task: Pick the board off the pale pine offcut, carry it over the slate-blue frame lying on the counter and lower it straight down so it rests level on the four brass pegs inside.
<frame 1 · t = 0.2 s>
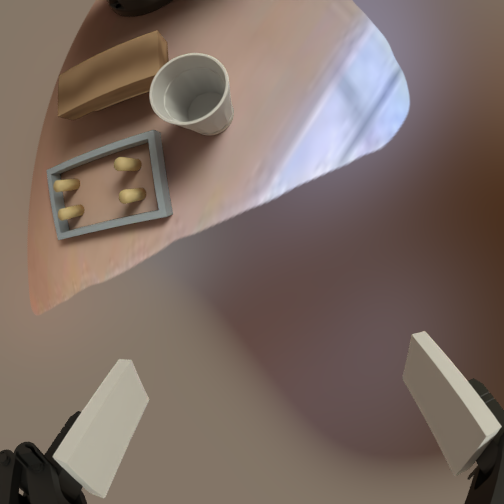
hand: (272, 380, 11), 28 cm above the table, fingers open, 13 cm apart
board: (116, 80, 29), point 4 cm above the table, touching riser
cup: (210, 114, 34), on the table
frame: (105, 188, 37), on the table
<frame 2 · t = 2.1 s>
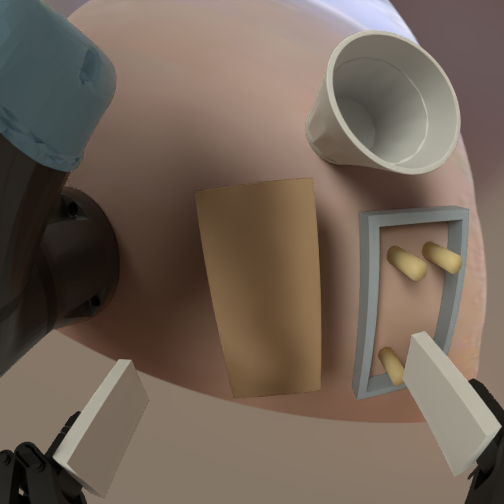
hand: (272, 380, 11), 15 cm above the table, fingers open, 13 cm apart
board: (266, 286, 21), point 4 cm above the table, touching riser
cup: (339, 131, 22), on the table
frame: (407, 305, 26), on the table
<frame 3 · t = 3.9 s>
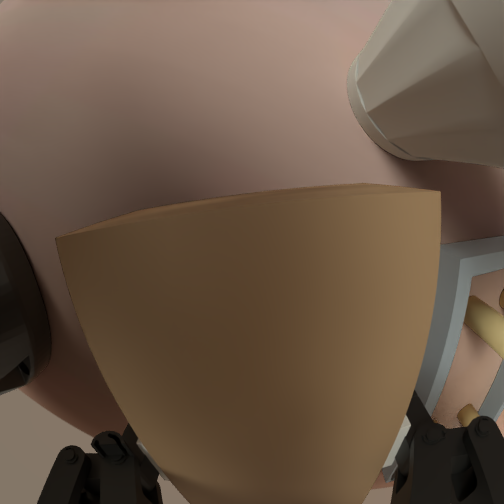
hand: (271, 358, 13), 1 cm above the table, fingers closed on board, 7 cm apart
board: (273, 400, 10), point 4 cm above the table, touching gripper, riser
cup: (404, 100, 10), on the table
frame: (469, 370, 14), on the table
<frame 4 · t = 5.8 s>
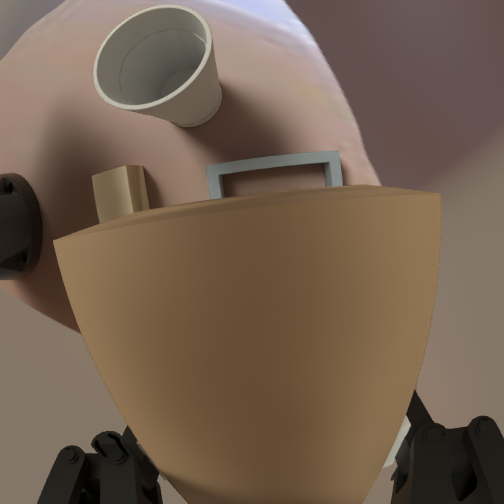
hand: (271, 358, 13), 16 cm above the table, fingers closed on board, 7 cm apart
board: (272, 402, 10), point 19 cm above the table, touching gripper
cup: (191, 98, 24), on the table
frame: (284, 261, 28), on the table
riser: (135, 225, 27), on the table
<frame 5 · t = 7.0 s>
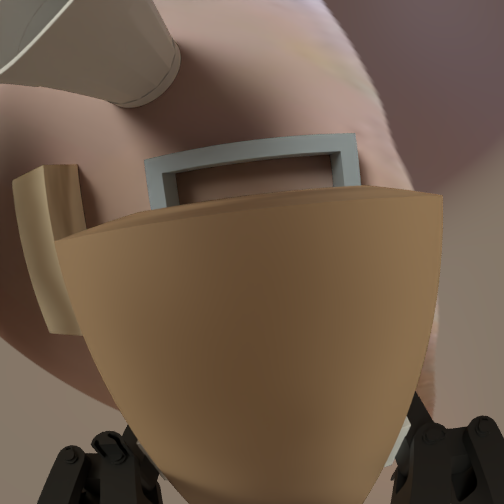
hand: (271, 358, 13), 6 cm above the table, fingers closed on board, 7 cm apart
board: (273, 402, 10), point 9 cm above the table, touching gripper
cup: (140, 69, 15), on the table
frame: (268, 302, 19), on the table
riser: (71, 243, 18), on the table
when the fingers open (4 cm above the table, at t = 7.7 s): board drops 2 cm, resting on frame.
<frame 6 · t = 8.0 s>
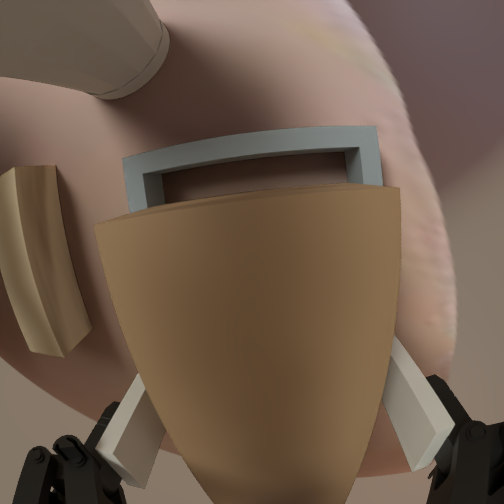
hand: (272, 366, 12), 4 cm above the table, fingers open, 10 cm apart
board: (271, 377, 11), point 5 cm above the table, touching frame
cup: (124, 56, 12), on the table
frame: (270, 323, 16), on the table
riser: (51, 253, 16), on the table
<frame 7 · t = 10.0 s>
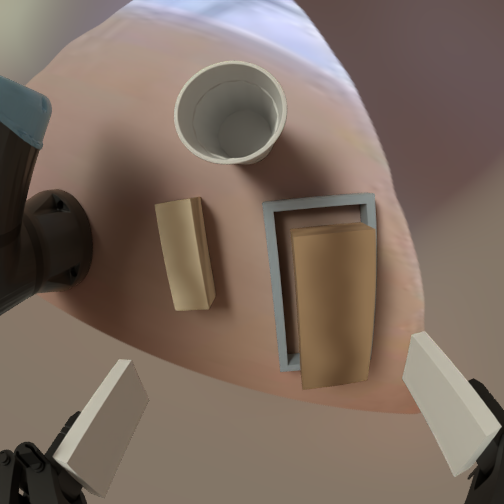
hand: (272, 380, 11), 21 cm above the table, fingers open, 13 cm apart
board: (330, 302, 27), point 5 cm above the table, touching frame
cup: (246, 137, 29), on the table
frame: (323, 285, 32), on the table
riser: (191, 249, 32), on the table
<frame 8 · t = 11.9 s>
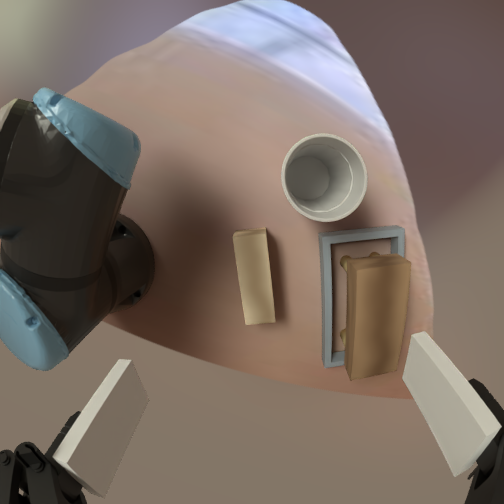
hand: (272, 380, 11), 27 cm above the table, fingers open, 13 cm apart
board: (370, 313, 34), point 5 cm above the table, touching frame
cup: (305, 177, 35), on the table
frame: (359, 297, 38), on the table
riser: (256, 271, 38), on the table
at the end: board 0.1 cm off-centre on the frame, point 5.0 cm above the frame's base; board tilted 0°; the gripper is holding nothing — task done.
